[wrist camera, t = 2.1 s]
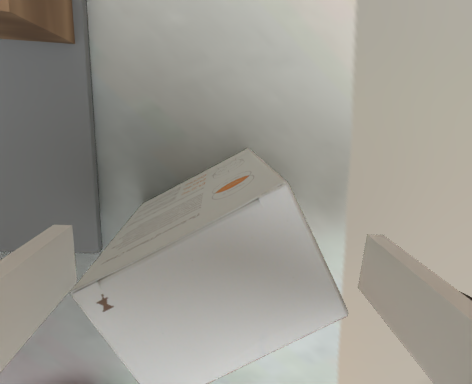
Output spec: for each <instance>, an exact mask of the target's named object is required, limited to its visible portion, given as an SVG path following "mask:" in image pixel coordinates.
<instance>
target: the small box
mask: <svg viewBox="0 0 472 384" xmlns="http://www.w3.org/2000/svg"><path fill="white" fill-rule="evenodd" d="M70 295H71V296H72V297H73V299H74V300H75V301H76V303H77V304H78V305H79V307H80V308H81V309H82V310H83V312H84V313H85V314H86V316H87V317H88V319H89V320H90V321H91V322H92V324H93V325H94V326H95V328H96V329H97V330H98V331H99V333H100V334H101V335H102V337H103V338H104V339H105V341H106V342H107V343H108V344H109V346H110V347H111V348H112V350H113V351H114V352H115V353H116V355H117V356H118V357H119V359H120V360H121V361H122V362H123V364H124V365H125V366H126V368H127V369H128V370H129V371H130V373H131V374H132V375H133V377H134V378H135V379H136V381H137V382H138V383H139V384H208V383H210V382H212V381H214V380H216V379H218V378H220V377H222V376H224V375H227V374H229V373H231V372H233V371H235V370H237V369H239V368H241V367H243V366H245V365H247V364H249V363H251V362H253V361H255V360H258V359H260V358H262V357H264V356H266V355H268V354H270V353H272V352H274V351H276V350H278V349H280V348H282V347H284V346H286V345H288V344H290V343H292V342H295V341H297V340H299V339H301V338H303V337H305V336H307V335H309V334H311V333H313V332H315V331H317V330H319V329H321V328H323V327H326V326H328V325H330V324H332V323H334V322H336V321H338V320H340V319H343V318H345V317H346V316H348V310H347V308H346V305H345V303H344V301H343V299H342V296H341V294H340V292H339V290H338V288H337V286H336V283H335V281H334V279H333V277H332V275H331V273H330V270H329V268H328V266H327V264H326V262H325V260H324V257H323V255H322V253H321V251H320V249H319V247H318V245H317V242H316V240H315V238H314V236H313V234H312V232H311V229H310V227H309V225H308V223H307V221H306V219H305V217H304V214H303V212H302V210H301V208H300V206H299V204H298V202H297V200H296V198H295V196H294V194H293V191H292V189H291V187H290V185H289V183H288V182H287V181H286V180H285V179H284V178H282V177H281V176H280V175H279V174H278V173H277V172H276V171H275V170H273V169H272V168H271V167H270V166H269V165H268V164H267V163H266V162H265V161H263V160H262V159H261V158H260V157H259V156H258V155H257V154H255V153H254V152H253V151H252V150H251V149H250V148H246V149H245V150H243V151H241V152H239V153H238V154H236V155H234V156H232V157H230V158H228V159H226V160H224V161H222V162H220V163H219V164H217V165H215V166H213V167H211V168H209V169H207V170H205V171H203V172H202V173H200V174H198V175H196V176H194V177H192V178H190V179H188V180H186V181H185V182H183V183H181V184H179V185H177V186H175V187H173V188H171V189H170V190H168V191H166V192H164V193H162V194H160V195H158V196H156V197H154V198H152V199H150V200H148V201H146V202H144V203H143V204H142V205H141V206H140V207H139V208H138V209H137V211H136V212H135V213H134V214H133V215H132V217H131V218H130V219H129V220H128V221H127V223H126V224H125V225H124V226H123V228H122V229H121V230H120V231H119V232H118V234H117V235H116V236H115V237H114V239H113V240H112V241H111V242H110V243H109V245H108V246H107V247H106V248H105V250H104V251H103V252H102V253H101V255H100V256H99V257H98V258H97V260H96V261H95V262H94V263H93V264H92V266H91V267H90V268H89V269H88V271H87V272H86V273H85V274H84V275H83V277H82V278H81V279H80V280H79V282H78V283H77V284H76V285H75V286H74V287H73V288H72V290H71V292H70Z"/></svg>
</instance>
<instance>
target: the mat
mask: <svg viewBox="0 0 472 384" xmlns="http://www.w3.org/2000/svg"><path fill="white" fill-rule="evenodd" d="M72 8H73V22H74V35H75V44H67V43H53V42H39V41H25V40H11V39H0V251H9V252H13V251H15V250H16V249H18V248H19V247H21V246H22V245H24V244H25V243H27V242H28V241H30V240H31V239H33V238H34V237H36V236H37V235H39V234H40V233H42V232H43V231H45V230H46V229H48V228H49V227H51V226H52V225H72V229H73V240H74V251H75V253H99V252H100V251H101V250H102V241H101V225H100V210H99V194H98V179H97V163H96V147H95V132H94V116H93V101H92V85H91V69H90V54H89V38H88V23H87V7H86V0H72Z"/></svg>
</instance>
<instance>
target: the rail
mask: <svg viewBox="0 0 472 384" xmlns="http://www.w3.org/2000/svg"><path fill="white" fill-rule="evenodd" d="M0 39H11V40H25V41H39V42H53V43H67V44H75V35H74V22H73V8H72V0H0Z"/></svg>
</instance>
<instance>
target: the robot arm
mask: <svg viewBox="0 0 472 384" xmlns="http://www.w3.org/2000/svg"><path fill="white" fill-rule="evenodd" d="M76 283H77V274H76V262H75V251H74V240H73V229H72V225H52V226H51V227H49V228H48V229H46V230H45V231H43V232H42V233H40V234H39V235H37V236H36V237H34V238H33V239H31V240H30V241H28V242H27V243H25V244H24V245H22V246H21V247H19V248H18V249H16V250H15V251H13V252H12V253H10V254H9V255H7V256H6V257H4V258H3V259H1V260H0V372H1V371H2V370H3V369H4V368H5V366H6V365H7V364H8V363H9V362H10V361H11V359H12V358H13V357H14V356H15V355H16V354H17V352H18V351H19V350H20V349H21V348H22V346H23V345H24V344H25V343H26V342H27V341H28V339H29V338H30V337H31V336H32V335H33V334H34V332H35V331H36V330H37V329H38V328H39V327H40V325H41V324H42V323H43V322H44V321H45V319H46V318H47V317H48V316H49V315H50V314H51V312H52V311H53V310H54V309H55V308H56V307H57V305H58V304H59V303H60V302H61V301H62V299H63V298H64V297H65V296H66V295H67V294H68V292H69V291H70V290H71V289H72V288H73V287H74V285H75V284H76ZM358 289H359V290H360V291H361V292H362V294H363V295H364V296H365V297H366V299H367V300H368V301H369V302H370V304H371V305H372V306H373V307H374V309H375V310H376V311H377V313H378V314H379V315H380V316H381V318H382V319H383V320H384V321H385V323H386V324H387V325H388V327H390V329H391V330H392V332H393V333H394V334H395V335H396V337H397V338H398V339H399V340H400V342H401V343H402V344H403V345H404V347H405V348H406V349H407V351H408V352H409V353H410V354H411V356H412V357H413V358H414V359H415V361H416V362H417V363H418V364H419V366H420V367H421V368H422V370H423V371H424V372H425V373H426V375H427V376H428V377H429V378H430V380H431V381H432V382H433V383H434V384H472V298H471V297H470V296H468V295H466V294H464V293H462V292H460V291H458V290H457V289H455V288H454V287H453V286H451V285H450V284H449V283H447V282H446V281H445V280H443V279H442V278H440V277H439V276H438V275H437V274H435V273H434V272H432V271H431V270H430V269H428V268H427V267H426V266H424V265H423V264H422V263H420V262H419V261H418V260H416V259H415V258H413V257H412V256H411V255H409V254H408V253H407V252H405V251H404V250H403V249H402V248H400V247H399V246H397V245H396V244H395V243H393V242H392V241H391V240H389V239H388V238H387V237H385V236H384V235H372V234H371V235H369V234H367V238H366V243H365V250H364V255H363V261H362V266H361V272H360V278H359V284H358Z"/></svg>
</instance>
